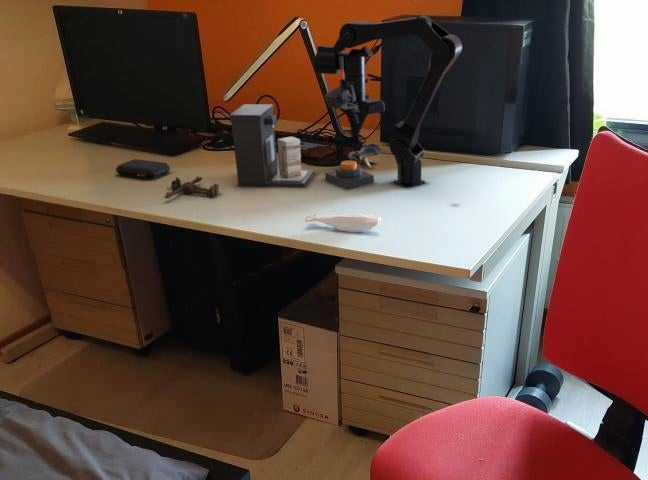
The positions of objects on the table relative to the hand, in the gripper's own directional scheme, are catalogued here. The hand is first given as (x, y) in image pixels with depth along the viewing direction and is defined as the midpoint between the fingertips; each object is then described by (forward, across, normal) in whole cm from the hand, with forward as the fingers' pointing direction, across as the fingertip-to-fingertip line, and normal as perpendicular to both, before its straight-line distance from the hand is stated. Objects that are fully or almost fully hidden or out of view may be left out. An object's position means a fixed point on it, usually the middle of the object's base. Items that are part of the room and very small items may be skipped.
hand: (355, 135), depth 197 cm
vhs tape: (+12, -32, +5) cm, 34 cm away
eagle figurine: (+12, -8, +9) cm, 17 cm away
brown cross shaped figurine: (+12, -19, -42) cm, 48 cm away
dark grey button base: (+12, +1, -4) cm, 12 cm away
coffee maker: (+12, -14, -18) cm, 26 cm away
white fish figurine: (+12, +30, -27) cm, 42 cm away
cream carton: (+11, -11, -15) cm, 22 cm away
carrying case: (+12, -46, -45) cm, 66 cm away
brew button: (+8, +1, -3) cm, 9 cm away
